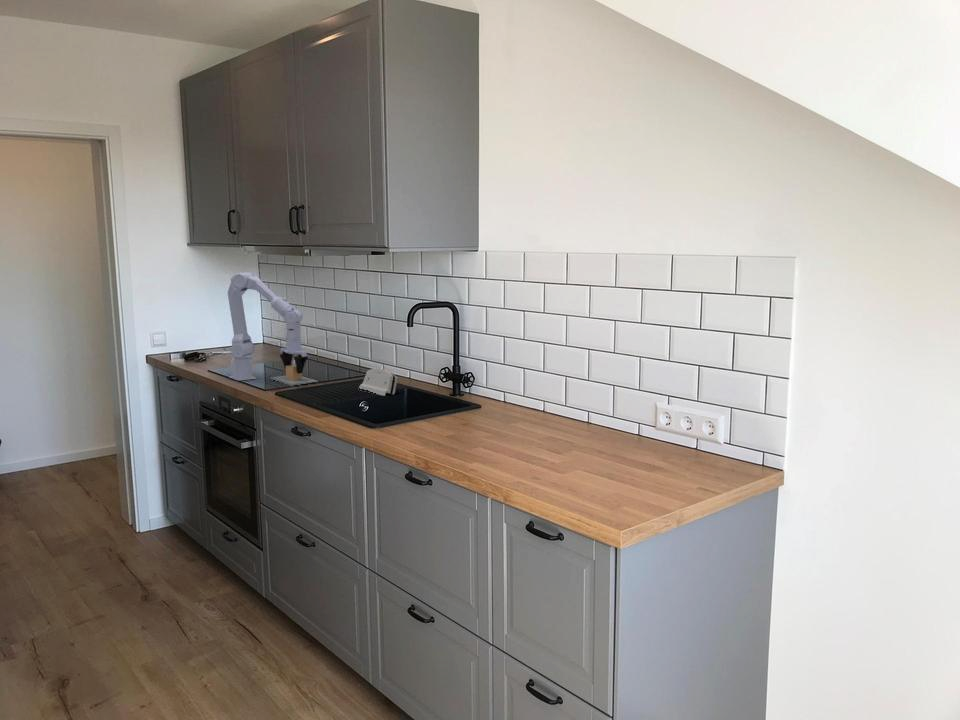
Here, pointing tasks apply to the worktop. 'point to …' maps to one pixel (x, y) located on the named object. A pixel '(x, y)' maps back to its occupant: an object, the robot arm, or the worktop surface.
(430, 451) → the worktop surface
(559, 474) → the worktop surface
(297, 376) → the tan wooden cube
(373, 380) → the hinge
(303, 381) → the board
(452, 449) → the worktop surface
